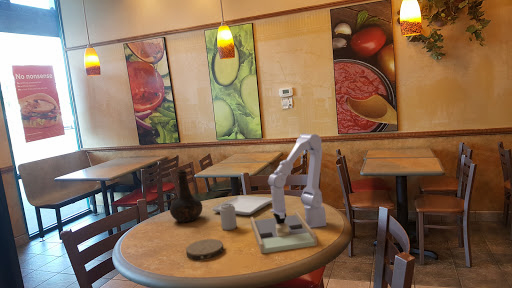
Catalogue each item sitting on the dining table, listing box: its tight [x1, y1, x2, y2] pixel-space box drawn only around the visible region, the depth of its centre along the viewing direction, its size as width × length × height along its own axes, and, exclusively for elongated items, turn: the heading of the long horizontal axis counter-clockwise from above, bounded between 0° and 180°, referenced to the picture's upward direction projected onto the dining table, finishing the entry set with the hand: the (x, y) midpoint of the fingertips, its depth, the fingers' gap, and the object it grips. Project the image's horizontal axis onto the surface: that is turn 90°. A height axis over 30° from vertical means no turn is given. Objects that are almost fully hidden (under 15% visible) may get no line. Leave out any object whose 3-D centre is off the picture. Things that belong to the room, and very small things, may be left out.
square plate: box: [211, 195, 272, 216], centre depth 223 cm, size 27×27×4 cm
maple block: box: [275, 223, 289, 237], centre depth 172 cm, size 5×5×4 cm
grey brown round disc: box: [185, 238, 225, 261], centre depth 166 cm, size 16×16×3 cm
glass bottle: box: [169, 169, 203, 223], centre depth 211 cm, size 18×18×28 cm
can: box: [219, 204, 238, 231], centre depth 192 cm, size 8×8×12 cm
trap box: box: [249, 210, 318, 254], centre depth 177 cm, size 24×36×4 cm, turn 7°
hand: (281, 228), depth 176 cm, fingers closed
